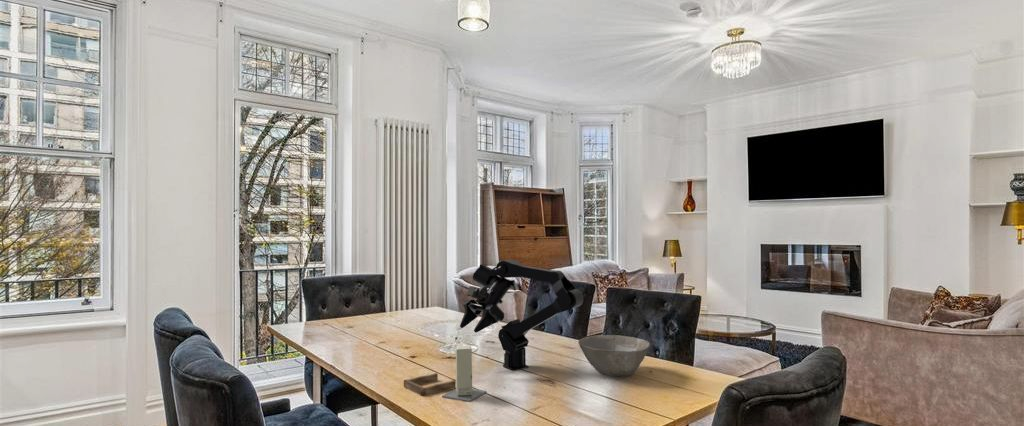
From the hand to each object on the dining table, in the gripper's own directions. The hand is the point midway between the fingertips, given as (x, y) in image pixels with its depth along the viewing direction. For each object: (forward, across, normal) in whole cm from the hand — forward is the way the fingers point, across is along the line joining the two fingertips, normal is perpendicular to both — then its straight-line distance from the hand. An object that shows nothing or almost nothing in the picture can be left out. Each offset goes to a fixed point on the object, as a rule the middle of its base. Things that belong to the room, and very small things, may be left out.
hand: (467, 329), depth 170 cm
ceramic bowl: (-16, +30, +36) cm, 49 cm away
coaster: (+18, +20, +1) cm, 27 cm away
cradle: (+22, +8, -3) cm, 24 cm away
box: (+18, +20, +1) cm, 27 cm away
